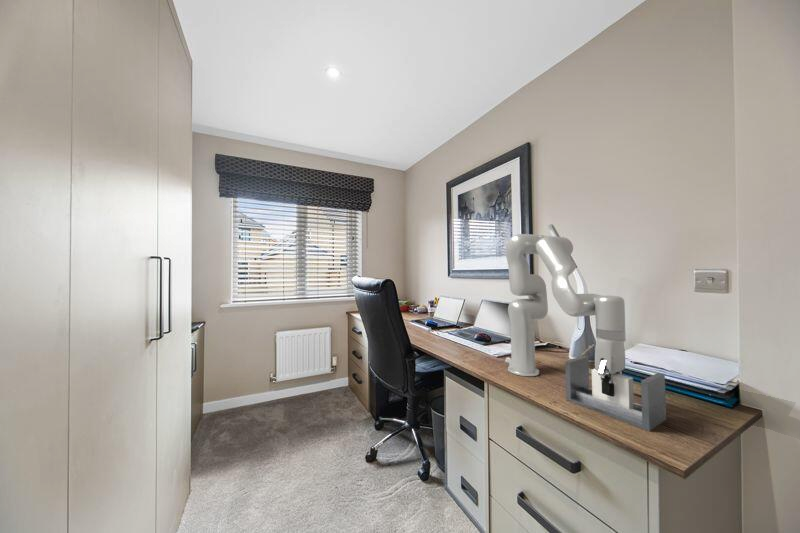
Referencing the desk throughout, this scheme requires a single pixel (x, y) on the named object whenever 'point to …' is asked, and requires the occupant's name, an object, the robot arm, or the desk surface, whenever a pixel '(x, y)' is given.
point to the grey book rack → (640, 416)
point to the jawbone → (586, 354)
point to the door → (615, 389)
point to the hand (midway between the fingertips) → (612, 392)
